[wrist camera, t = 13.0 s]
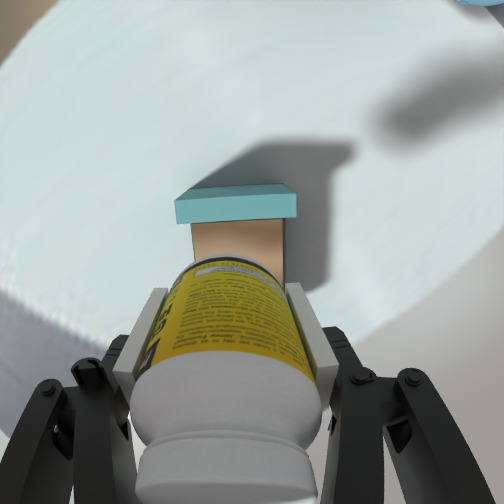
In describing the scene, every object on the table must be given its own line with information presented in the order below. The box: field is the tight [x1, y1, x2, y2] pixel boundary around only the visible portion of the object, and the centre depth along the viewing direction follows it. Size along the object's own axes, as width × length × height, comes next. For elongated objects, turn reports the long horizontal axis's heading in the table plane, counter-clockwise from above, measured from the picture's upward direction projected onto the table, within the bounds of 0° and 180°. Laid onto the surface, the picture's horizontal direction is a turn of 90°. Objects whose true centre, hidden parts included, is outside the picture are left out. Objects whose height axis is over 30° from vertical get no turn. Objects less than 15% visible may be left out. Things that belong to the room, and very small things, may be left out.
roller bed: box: [174, 184, 297, 293], centre depth 30 cm, size 22×10×7 cm, turn 3°
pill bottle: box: [130, 253, 322, 504], centre depth 10 cm, size 6×6×11 cm
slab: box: [192, 218, 283, 288], centre depth 28 cm, size 13×8×2 cm, turn 3°
